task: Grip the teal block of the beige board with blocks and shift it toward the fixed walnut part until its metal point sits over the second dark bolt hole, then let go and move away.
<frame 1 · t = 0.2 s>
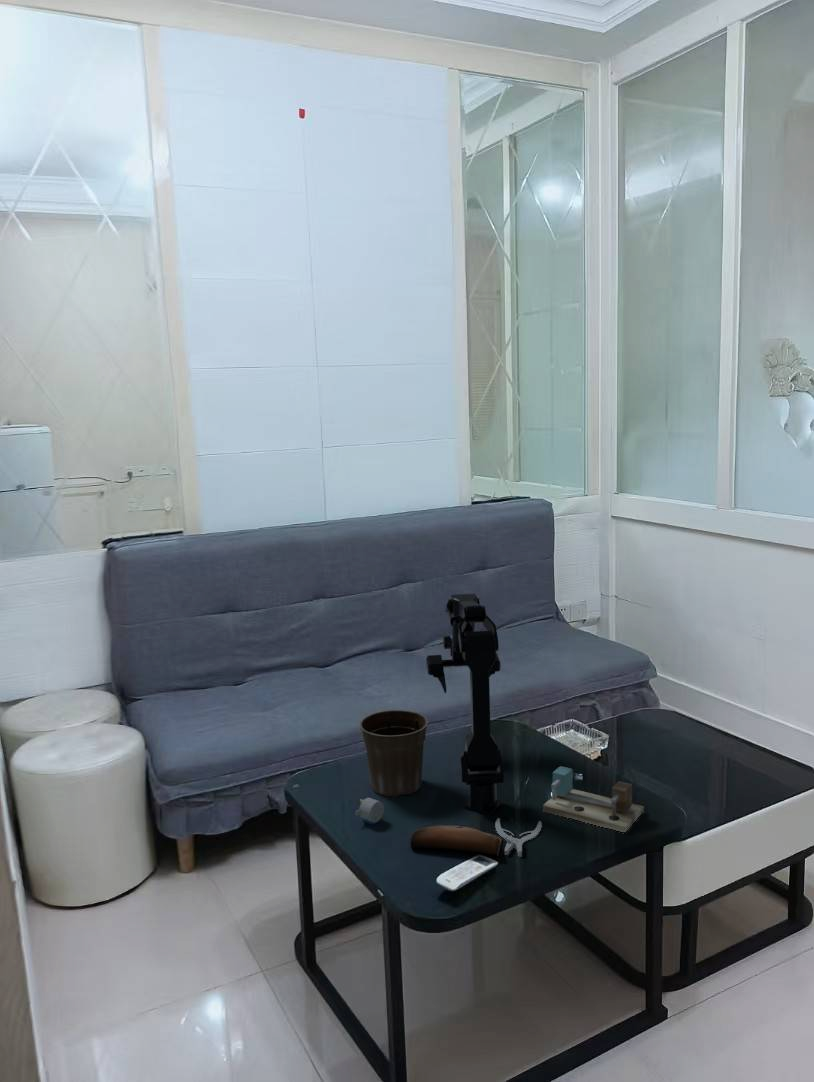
hand: (462, 691, 226), 15 cm above the table, tool pointing down, fingers open, 9 cm apart
pliers: (516, 840, 179), on the table, touching sunglasses case
beige board with blocks: (593, 812, 190), on the table
sunglasses case: (456, 846, 177), on the table, touching pliers
plant pot: (396, 787, 206), on the table
teal block: (559, 783, 193), point 5 cm above the table, slide at 6.0 cm
electric motor: (369, 821, 189), on the table
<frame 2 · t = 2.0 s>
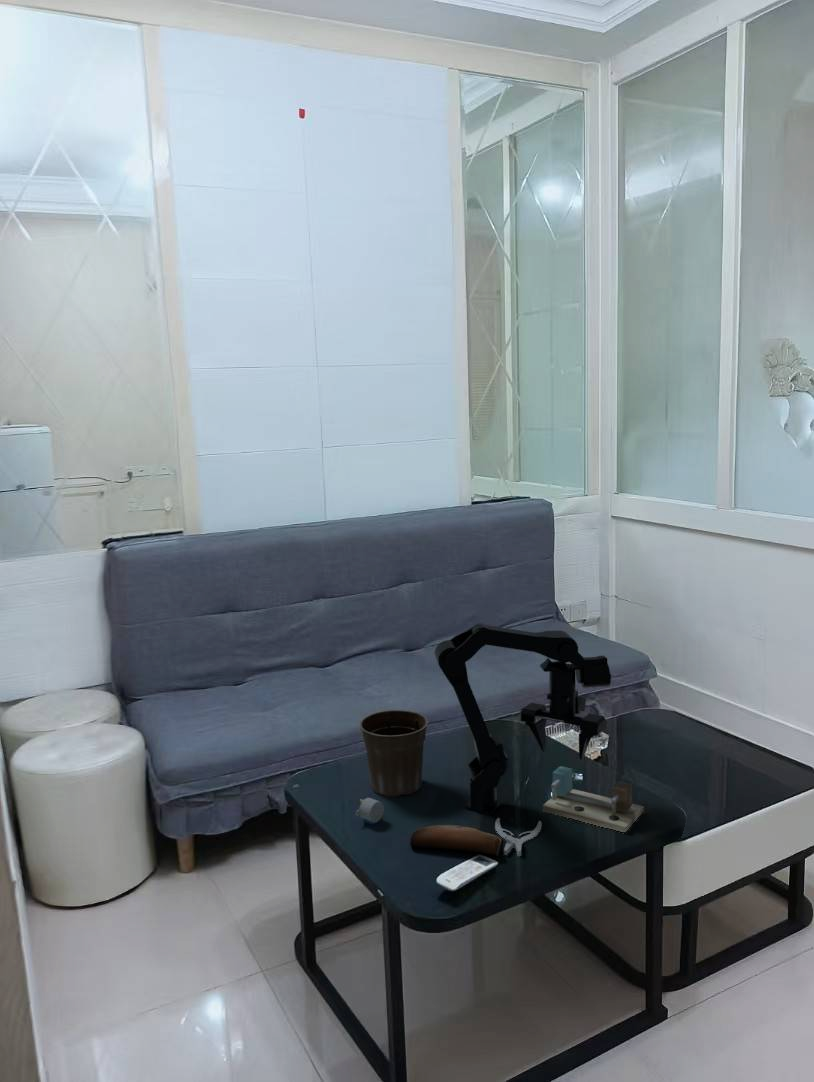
hand: (562, 754, 194), 11 cm above the table, tool pointing down, fingers open, 9 cm apart
nothing on the table moved.
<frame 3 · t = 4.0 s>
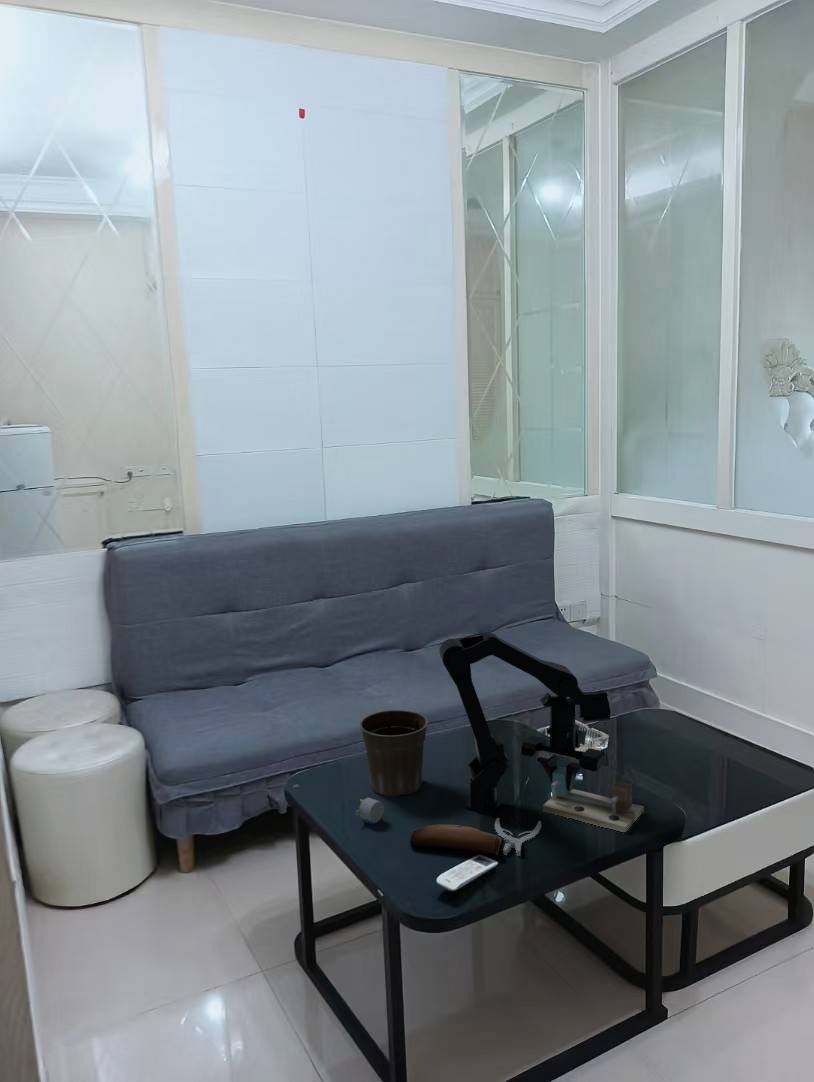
hand: (562, 788, 195), 3 cm above the table, tool pointing down, fingers closed on teal block, 3 cm apart
teal block: (559, 783, 193), point 5 cm above the table, slide at 6.0 cm, touching gripper
everything else where it was.
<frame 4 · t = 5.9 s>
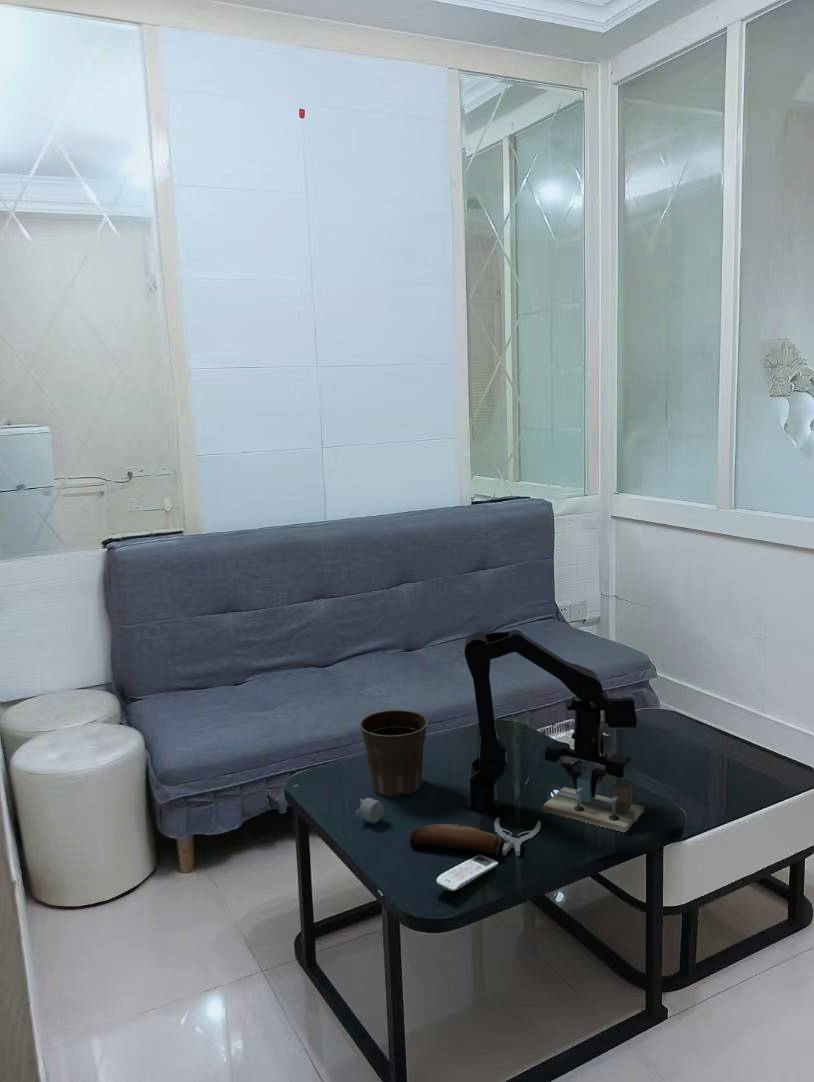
hand: (586, 794, 191), 3 cm above the table, tool pointing down, fingers closed on teal block, 3 cm apart
pliers: (514, 840, 180), on the table
sunglasses case: (456, 844, 178), on the table
teal block: (584, 789, 190), point 5 cm above the table, slide at 0.1 cm, touching gripper
everything else where it was.
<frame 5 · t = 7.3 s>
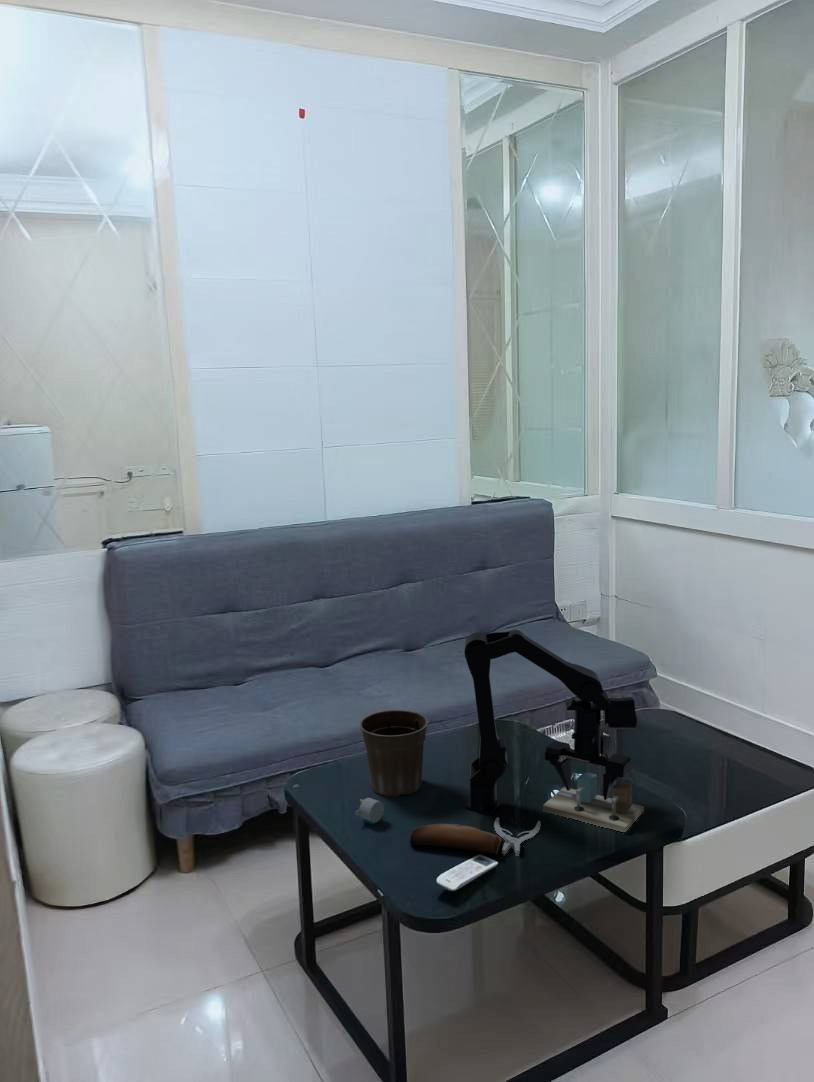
hand: (587, 794, 191), 3 cm above the table, tool pointing down, fingers open, 8 cm apart
pliers: (514, 840, 180), on the table, touching sunglasses case
sunglasses case: (456, 844, 178), on the table, touching pliers
teal block: (584, 789, 190), point 5 cm above the table, slide at 0.1 cm
everything else where it was.
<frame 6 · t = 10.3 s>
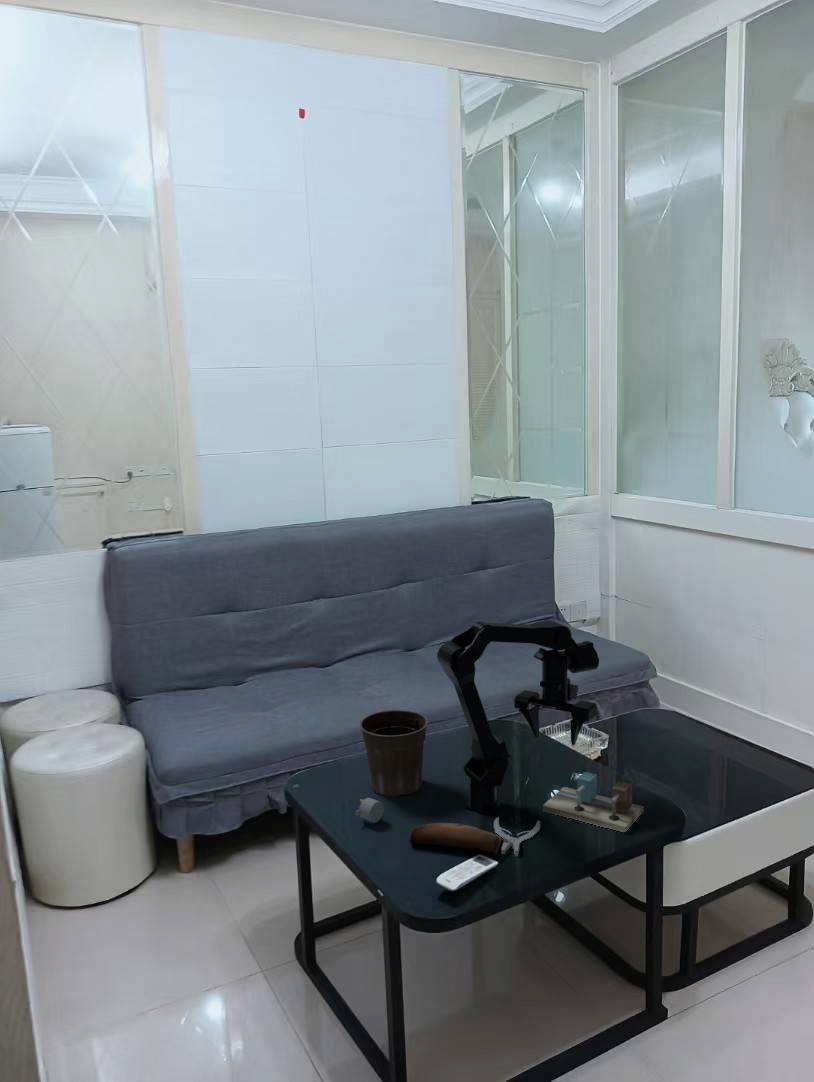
hand: (555, 740, 199), 12 cm above the table, tool pointing down, fingers open, 9 cm apart
nothing on the table moved.
at the end: teal block slide at 0.1 cm; the gripper is holding nothing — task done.
